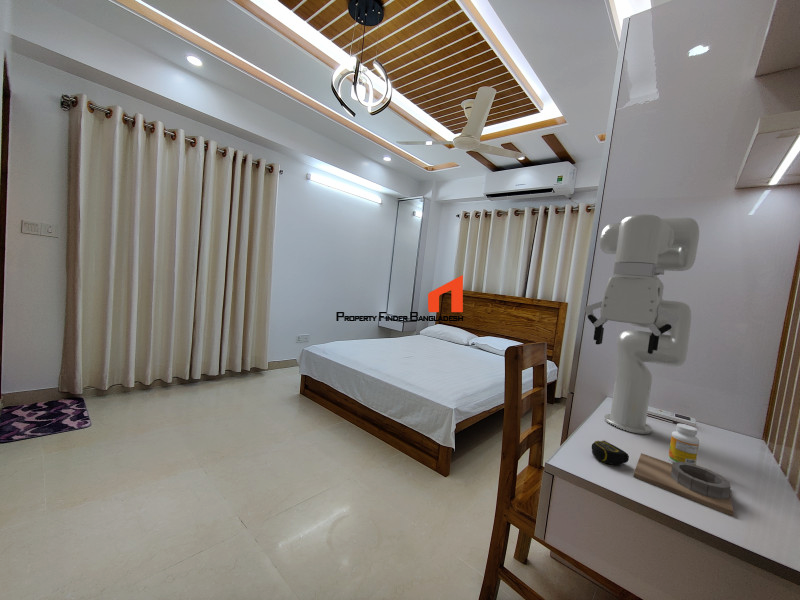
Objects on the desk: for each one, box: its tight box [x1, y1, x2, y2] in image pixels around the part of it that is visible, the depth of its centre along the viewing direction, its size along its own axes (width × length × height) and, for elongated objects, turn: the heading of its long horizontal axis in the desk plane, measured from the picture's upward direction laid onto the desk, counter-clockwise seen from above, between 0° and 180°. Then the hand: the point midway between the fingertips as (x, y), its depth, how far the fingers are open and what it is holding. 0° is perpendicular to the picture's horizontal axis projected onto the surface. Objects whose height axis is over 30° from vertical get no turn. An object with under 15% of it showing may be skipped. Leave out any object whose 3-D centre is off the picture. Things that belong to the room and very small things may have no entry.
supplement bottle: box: [667, 423, 700, 465], centre depth 82 cm, size 5×5×10 cm
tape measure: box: [591, 440, 630, 466], centre depth 80 cm, size 7×7×4 cm
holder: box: [633, 452, 734, 517], centre depth 73 cm, size 14×16×4 cm
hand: (623, 348), depth 71 cm, fingers open, 9 cm apart
